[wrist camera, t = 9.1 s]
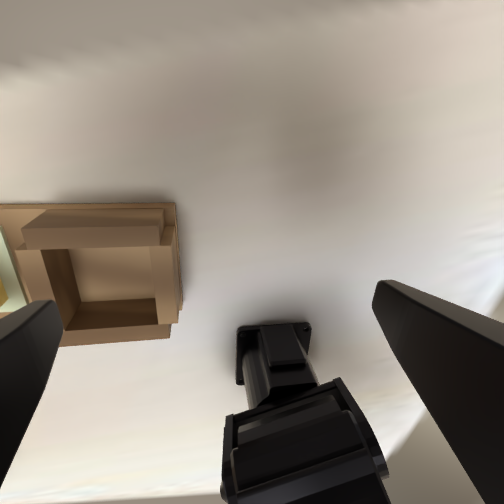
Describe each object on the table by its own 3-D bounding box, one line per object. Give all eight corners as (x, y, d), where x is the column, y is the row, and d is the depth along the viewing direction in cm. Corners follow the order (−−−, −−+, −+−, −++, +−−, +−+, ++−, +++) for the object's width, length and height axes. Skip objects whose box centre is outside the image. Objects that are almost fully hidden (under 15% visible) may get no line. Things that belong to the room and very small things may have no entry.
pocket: (181, 309, 22) (179, 337, 20) (66, 317, 21) (48, 347, 19) (173, 208, 19) (169, 225, 16) (35, 210, 18) (7, 228, 15)
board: (182, 302, 23) (181, 312, 22) (-70, 317, 21) (-86, 330, 20) (175, 203, 20) (173, 209, 19) (-131, 205, 17) (-155, 213, 16)
